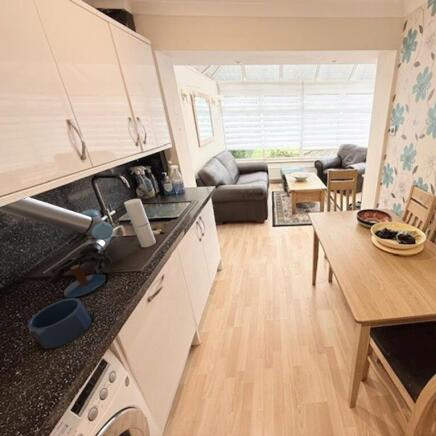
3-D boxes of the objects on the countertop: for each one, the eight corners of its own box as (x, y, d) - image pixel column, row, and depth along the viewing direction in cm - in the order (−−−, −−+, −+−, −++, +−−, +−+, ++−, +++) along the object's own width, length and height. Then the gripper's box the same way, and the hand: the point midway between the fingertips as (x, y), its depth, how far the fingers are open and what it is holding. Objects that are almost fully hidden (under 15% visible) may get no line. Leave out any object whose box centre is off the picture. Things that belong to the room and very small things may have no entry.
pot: (36, 357, 71) (20, 337, 67) (48, 327, 81) (35, 309, 77) (88, 336, 76) (76, 316, 73) (94, 310, 86) (83, 293, 83)
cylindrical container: (139, 249, 124) (121, 205, 113) (144, 242, 130) (127, 199, 120) (153, 246, 125) (137, 202, 114) (157, 240, 132) (142, 198, 121)
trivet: (65, 303, 91) (64, 302, 91) (71, 285, 100) (70, 284, 100) (102, 290, 96) (102, 289, 96) (105, 274, 106) (105, 273, 105)
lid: (61, 304, 90) (47, 283, 85) (69, 284, 100) (57, 264, 96) (104, 289, 96) (93, 269, 91) (107, 272, 106) (98, 253, 102)
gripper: (127, 250, 115) (115, 275, 97) (64, 264, 108) (39, 294, 90) (121, 236, 112) (108, 260, 94) (56, 250, 105) (28, 278, 87)
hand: (74, 277), depth 92 cm, fingers open, 13 cm apart
